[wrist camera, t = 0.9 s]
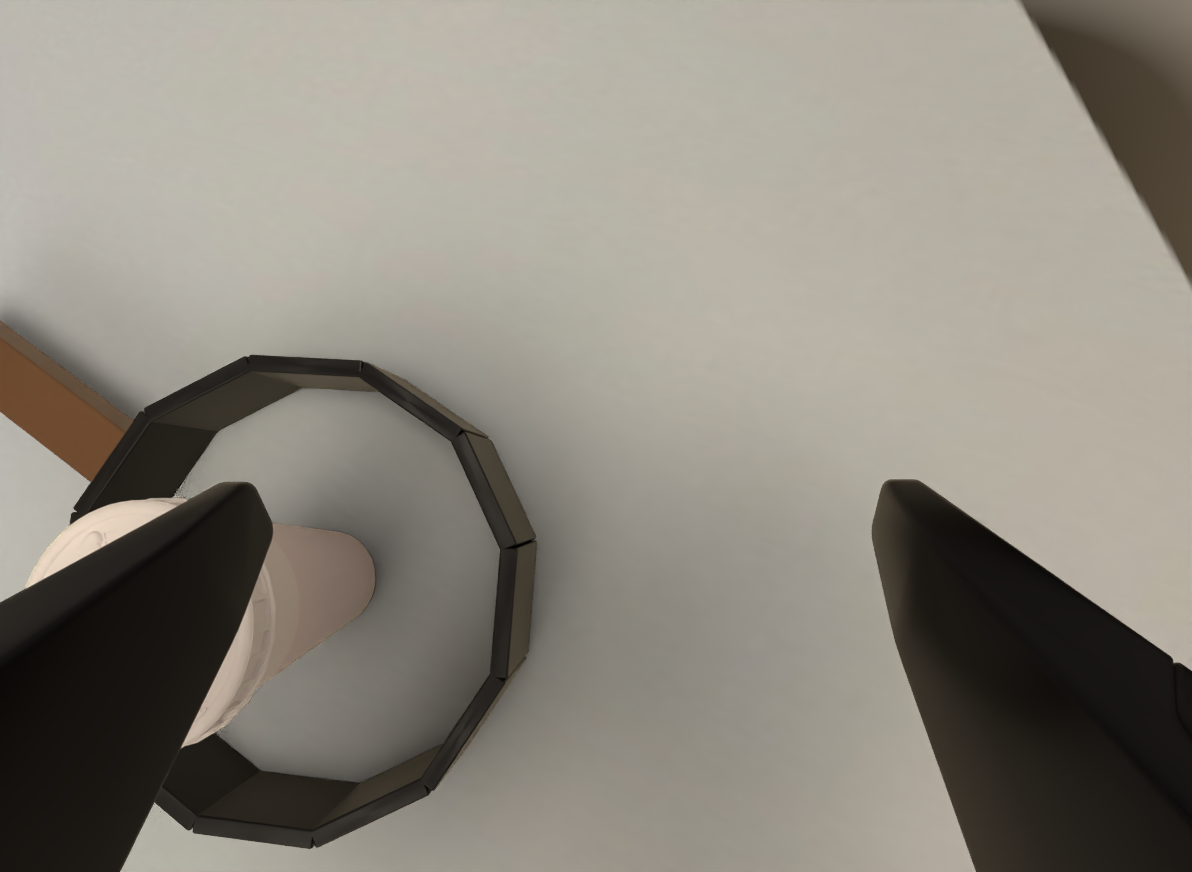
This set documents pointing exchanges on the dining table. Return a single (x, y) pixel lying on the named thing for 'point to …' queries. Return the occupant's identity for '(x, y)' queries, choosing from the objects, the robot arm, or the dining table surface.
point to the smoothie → (276, 608)
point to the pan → (155, 470)
